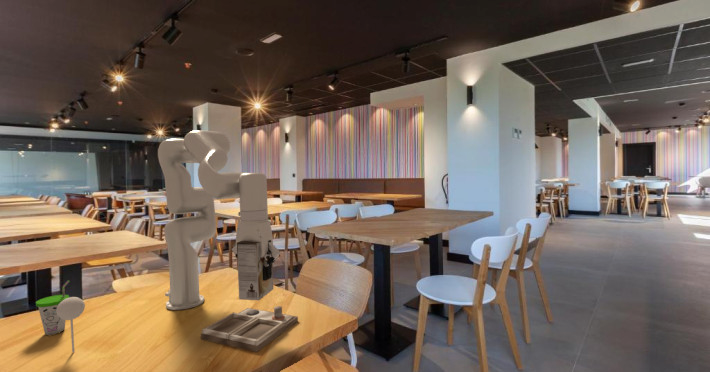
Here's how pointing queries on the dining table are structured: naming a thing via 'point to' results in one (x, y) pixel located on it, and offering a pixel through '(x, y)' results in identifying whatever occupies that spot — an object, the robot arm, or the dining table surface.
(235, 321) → the grey compartment tray
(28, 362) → the dining table surface
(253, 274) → the coffee box
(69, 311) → the lollipop
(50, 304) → the cup
